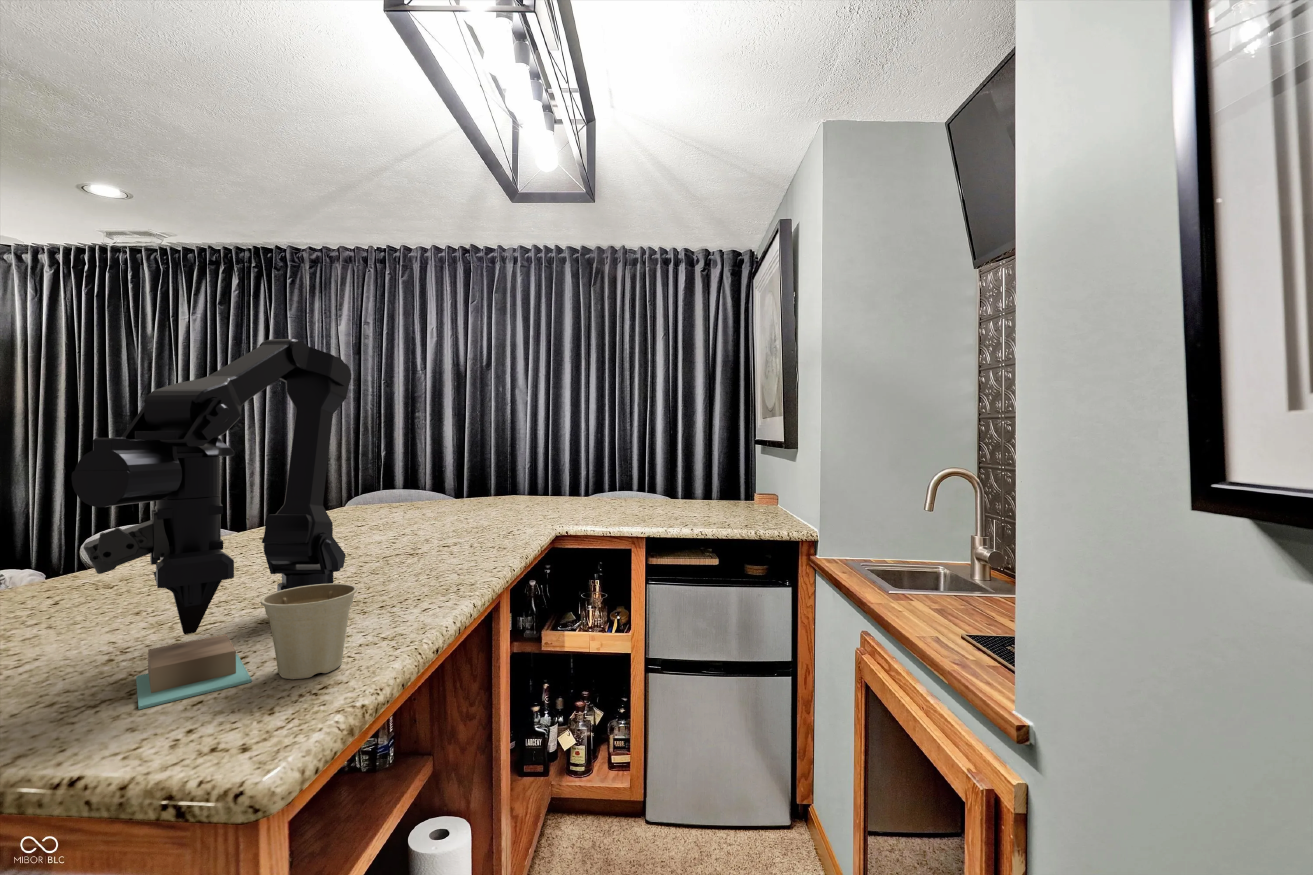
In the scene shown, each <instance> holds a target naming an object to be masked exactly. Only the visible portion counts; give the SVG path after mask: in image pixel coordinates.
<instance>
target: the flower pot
mask: <svg viewBox="0 0 1313 875" xmlns="http://www.w3.org/2000/svg"><path fill="white" fill-rule="evenodd" d="M357 593H358V587H357V586H356V585H354V584H349V583H336V582H335V583H334V582H333V583H332V584H318V585H309V586H301V587H296V588H290V589H285V590H281V591H275V592H271V593H269V594H267V595H264V596H263V597H262V598H261V599H260V605H262V607H264V610H265V611H264V612H265V615H266V617H267V618H269V625H270V630H271V635H272V636H271V637H272V642H273V648H274V653H275V659H276V666H277V667H276V668H277V673H278V674H279V676H280V677H281V678H282V679H286V680H287V679H288V680H302V679H303V680H304V679H308V678H311V677H313V676H314V675H316V674H320V673H322V674H327V673H329V672H330V673H331V672H333V671H334V670H336V669H338V668H339V667H340V666H341V665H342V663H343V656H344V649H345V641H346V633H347V627H348V619H349V614H350V608H351V606H352V605H353V603H354V596H355V594H357Z"/></svg>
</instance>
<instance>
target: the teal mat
mask: <svg viewBox="0 0 1313 875" xmlns="http://www.w3.org/2000/svg"><path fill="white" fill-rule="evenodd" d="M135 680H136V681H135V682H136V692H137V706H138V708H137V709H138V710H143V709H147V708H152V707H155V706H159V705H164V704H167V703H171V702H176V701H180V700H184V699H187V698H191V697H196V696H199V695H200V696H201V695H204V694H208V693H212V692H216V691H220V690H225V689H227V688H231V687H236V686H241V685H245V684H248V683H252V678H251V675H250V674H249V672H248V670H247V669H246V667H245V664H244V663H243V661H242V659H241V658H240V656H239V654H238V653H236V673H235V674H230V675H226V676H222V677H218V678H213V679H209V680H205V681H200V682H196V683H192V684H188V685H183V686H179V687H175V688H171V689H166V690H162V691H158V692H153V693H151V688H150V681H149V674H148V673H144V674H140V675H136V676H135Z"/></svg>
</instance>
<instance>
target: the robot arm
mask: <svg viewBox="0 0 1313 875" xmlns="http://www.w3.org/2000/svg"><path fill="white" fill-rule="evenodd" d="M278 380H280V381H283V382H284V383H286V394H287V395H288V397H289V399H290V401H291V402H292V405H293V406H294V408H295V417H294V425H293V431H292V432H293V434H292V441H291V450H290V457H289V458H290V459H289V466H288V473H287V481H286V482H287V483H286V490H285V497H284V503H283V505H282V506H281V507H280V509H279V510H277V512H276V513H275V514H272V513H271V514H268V515H267V516H266V518H265V521H264V533H263V537H262V539H261V544H263V554H264V557H265V559H266V564H267V566H268V570H269V574H270V575H277V574H279V575H280V574H281V582H279V583H278V584H277V591H281V590H285V589H290V588H296V587H301V586H309V585H318V584H332V583H334V573H335V572H336V573H337V572H340V571H341V569H343V568H344V565H345V561H346V552H344V550H343V549H342V547H341V546H340V545H339V543H338V541H336V539H335V538H334V537H333V536H334V535H333V534H334V533H333V532H334V531H333V527H334V525H333V521H332V519H331V517H330V516H329V514H328V512H327V510H326V508H325V507H324V497H325V491H326V490H325V488H326V478H327V471H328V463H329V454H330V446H331V436H332V434H331V433H332V426H333V417H334V414H335V413H336V411H337V410H338V409H339V408H340V406H342V404H343V403H344V402H345V401H346V399H347V397H348V392H349V387H350V383H351V381H352V371H351V368H350V366H349V365H348V364H347V363H346V362H344V360H343V359H342V358H341V357H340V356H335V355H333V354H331V353H329V352H325V351H323V350H320V349H317V348H314V347H311V346H309V345H308V344H306V343H305V342H303V341H300V340H298V339H295V338H294V339H293V338H281V339H280V338H274V339H272V338H271V339H270V338H269V339H266V340H265V341H262V342H261V343H260V344H259V346H257V347H256V348H254V349H253V350H250V352H247V353H246V354H244V355H242V356H240V357H238V358H237V359H235V360H233V361H231V362H230V363H228V364H227V365H224V366H223V367H221V368H219V369H218V370H217V371H215V372H213V373H211V374H209V375H208V376H205V377H201V378H197V379H193V380H187V381H181V382H177V383H173V384H169V385H167V386H163V387H161V388H160V387H159V388H157V389H153V390H152V391H151V392H150V393H148V394H147V396H146V397H145V398H144V401H143V403H144V405H143V406H142V408H141V409H140V410H139V411H138V414H137V415H136V416H135V417H134V419H133V421H132V422H131V423H130V424H129V425H128V427H127V429H126V430H125V431H124V432H123V434H122V435H121V436H120V437H95V438H93V439H92V450H90V451H89V452H87V453H85V454H84V455H83V456H82V457H81V458H80V459H79V460H78V462H77V463H76V465H75V468H74V471H72V472H71V486H72V488H73V492H74V493H75V494H76V496H77V497H78V499H80V500H81V501H82V502H83V503H84V504H86V505H89V506H90V507H94V508H108V507H116V506H124V505H126V506H127V505H133V504H142V503H150V502H155V506H154V509H153V508H152V509H151V519H150V520H148V521H144V522H142V523H138V524H135V525H132V526H129V527H126V528H120V527H118V526H117V527H115V528H114V529H112V530H108V531H105V532H103V531H102V532H100V533H99V537H98V538H94V539H91V540H89V541H87V542H85V543H84V544H83V547H82V548H83V550H84V552H85V553H86V555H87V557H88V559H89V561H90V563H91V565H92V567H93V568H94V571H95V572H96V574H97V575H102V574H105V573H108V572H110V571H113V570H116V568H117V567H118V566H121V565H124V564H126V563H129V562H132V561H135V560H137V559H139V558H142V557H145V556H147V555H149V559H150V561H149V562H150V565H155V571H153V576H154V581H155V584H156V587H157V589H166V590H168V591H169V592H171V593H172V595H173V599H174V603H175V607H176V611H177V615H178V619H179V621H180V626H181V630H182V633H183V634H184V635H191V634H195V633H196V632H197V631H198V629H199V626H200V625H201V622H202V621H203V618H204V616H205V614H206V613H207V610H208V608H209V607H210V604H211V602H212V600H213V598H214V596H215V594H216V592H217V590H218V588H219V587H220V585H221V583H222V581H226V580H230V579H233V578H235V560H234V559H233V558H232V557H231V556H230V555H229V554H227V553H226V552H224V551H223V550H224V540H222V538H221V534H222V532H221V529H222V528H221V526H222V524H221V521H222V520H221V519H222V518H221V516H222V515H224V505H223V504H222V503H221V500H222V498H221V497H222V496H221V457H233V456H235V451H234V449H233V448H231V446H229V445H227V444H226V443H225V442H223V440H222V439H221V438H220V437H221V436H223V435H224V434H226V433H227V432H228V431H229V430H230V428H231V427H233V425H235V423H236V422H237V421H239V419H240V418H241V416H242V407H243V405H244V404H245V403H246V402H247V401H249V400H251V399H252V398H254V397H255V396H256V395H258V394H259V393H261V392H263V391H264V390H266V388H268V387H269V386H271V385H272V384H274V383H276V382H277V381H278ZM277 591H276V592H277Z"/></svg>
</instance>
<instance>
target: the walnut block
mask: <svg viewBox="0 0 1313 875" xmlns="http://www.w3.org/2000/svg"><path fill="white" fill-rule="evenodd" d="M236 654H237V650H236V648H235V647H234V645H233V643H232V642H231V639H230V638H229V636H228V635H227V634H226V633H225V634H220V635H214V636H210V637H204V638H199V639H195V640H193V639H192V640H188V641H184V642H183V641H182V642H179V643H174V644H167V645H163V646H158V647H152V648H148V649H147V659H148V661H147V663H148V664H147V674H149V681H150V688H151V693H153V692H158V691H162V690H166V689H171V688H175V687H179V686H183V685H188V684H192V683H196V682H200V681H205V680H209V679H213V678H218V677H222V676H226V675H230V674H235V673H236Z"/></svg>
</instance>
